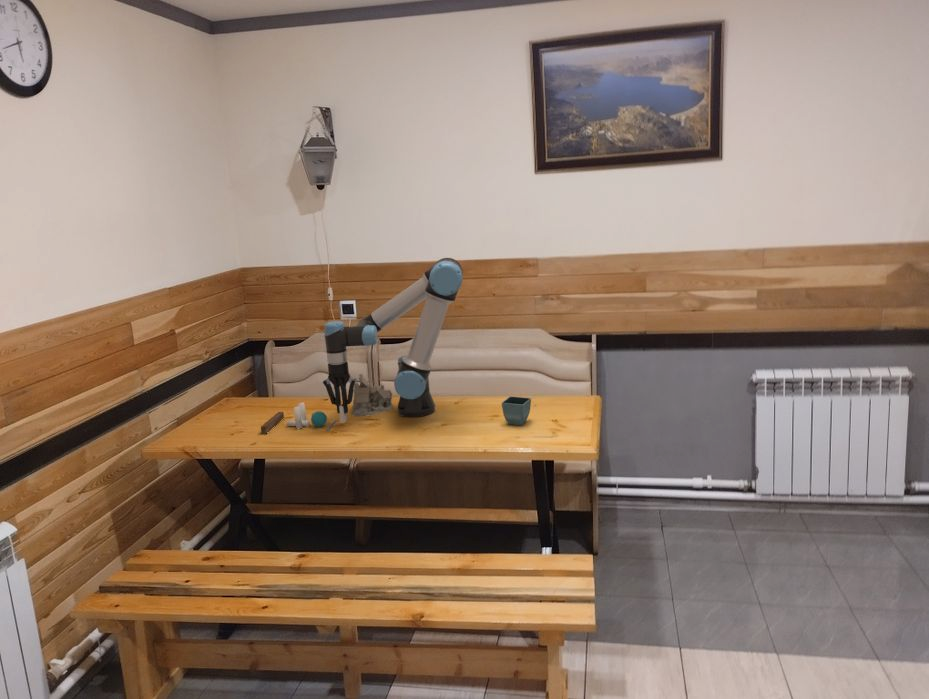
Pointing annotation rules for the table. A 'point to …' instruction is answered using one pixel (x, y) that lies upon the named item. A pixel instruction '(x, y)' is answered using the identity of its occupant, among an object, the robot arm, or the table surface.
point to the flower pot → (516, 409)
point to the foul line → (331, 425)
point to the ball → (318, 419)
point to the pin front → (292, 423)
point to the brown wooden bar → (272, 422)
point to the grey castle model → (370, 399)
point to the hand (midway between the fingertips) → (343, 421)
